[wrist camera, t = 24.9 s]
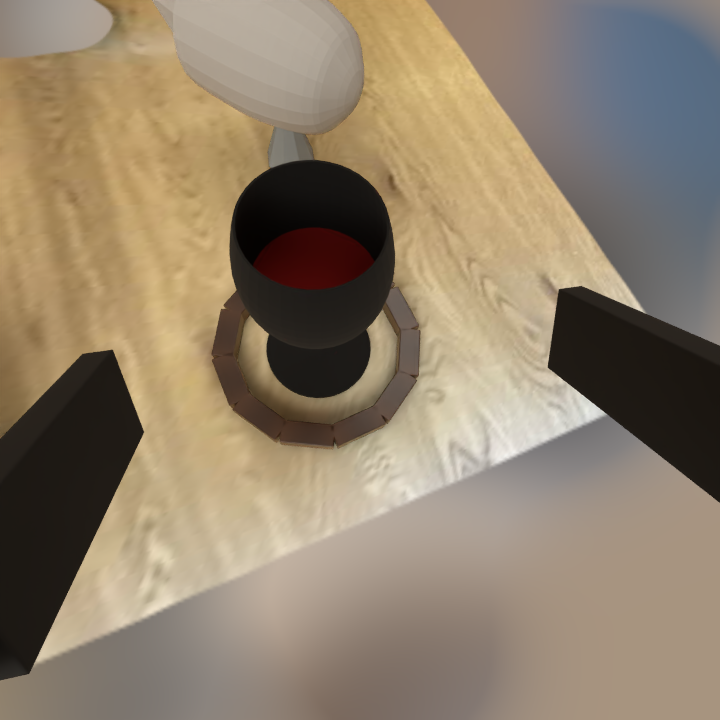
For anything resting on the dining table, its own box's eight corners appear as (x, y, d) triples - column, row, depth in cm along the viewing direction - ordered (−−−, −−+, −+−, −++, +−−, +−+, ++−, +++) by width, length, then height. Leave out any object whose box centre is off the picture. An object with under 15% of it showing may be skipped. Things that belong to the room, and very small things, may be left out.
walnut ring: (411, 456, 39) (415, 454, 37) (200, 437, 38) (194, 434, 37) (419, 273, 46) (422, 264, 44) (238, 253, 45) (234, 243, 43)
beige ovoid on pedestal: (292, 71, 54) (276, -120, 37) (372, 183, 49) (394, 21, 33) (182, 109, 51) (111, -82, 34) (256, 233, 46) (215, 81, 29)
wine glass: (301, 284, 44) (281, 121, 25) (388, 330, 43) (435, 197, 24) (245, 366, 41) (175, 248, 22) (338, 418, 40) (348, 341, 21)
